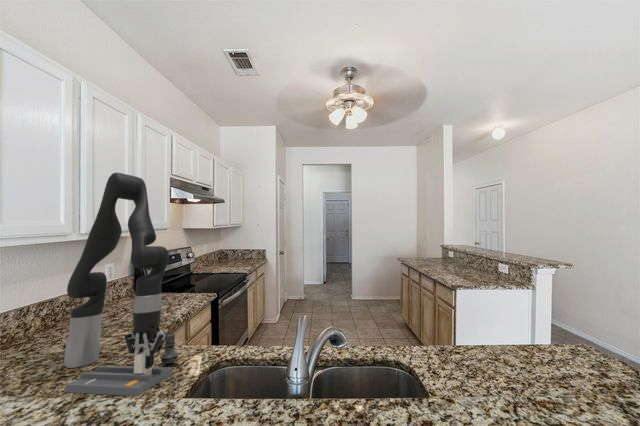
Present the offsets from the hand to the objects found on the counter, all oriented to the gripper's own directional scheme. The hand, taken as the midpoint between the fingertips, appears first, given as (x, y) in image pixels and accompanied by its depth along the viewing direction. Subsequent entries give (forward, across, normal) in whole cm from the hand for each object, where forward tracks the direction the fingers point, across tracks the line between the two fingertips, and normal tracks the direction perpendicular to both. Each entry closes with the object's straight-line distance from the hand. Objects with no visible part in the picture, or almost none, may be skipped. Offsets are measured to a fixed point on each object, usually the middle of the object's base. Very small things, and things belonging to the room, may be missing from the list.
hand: (144, 367), depth 83 cm
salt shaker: (+5, -2, +13) cm, 14 cm away
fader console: (+5, -8, 0) cm, 9 cm away
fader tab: (+2, 0, 0) cm, 2 cm away
